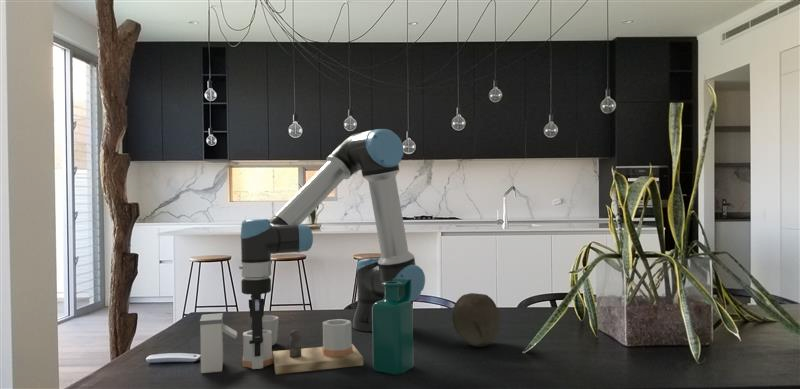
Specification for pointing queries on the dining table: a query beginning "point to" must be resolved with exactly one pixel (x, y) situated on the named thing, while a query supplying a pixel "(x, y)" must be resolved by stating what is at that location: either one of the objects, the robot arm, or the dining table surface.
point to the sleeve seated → (337, 338)
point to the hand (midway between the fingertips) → (256, 362)
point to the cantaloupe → (476, 319)
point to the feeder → (213, 341)
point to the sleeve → (266, 348)
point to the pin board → (310, 358)
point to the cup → (271, 326)
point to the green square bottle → (393, 328)
